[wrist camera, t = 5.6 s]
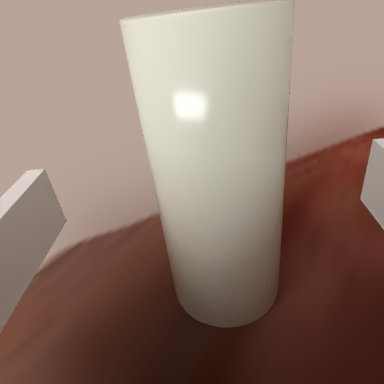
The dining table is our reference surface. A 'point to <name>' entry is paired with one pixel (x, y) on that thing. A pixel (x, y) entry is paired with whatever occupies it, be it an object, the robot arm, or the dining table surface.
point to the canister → (217, 147)
